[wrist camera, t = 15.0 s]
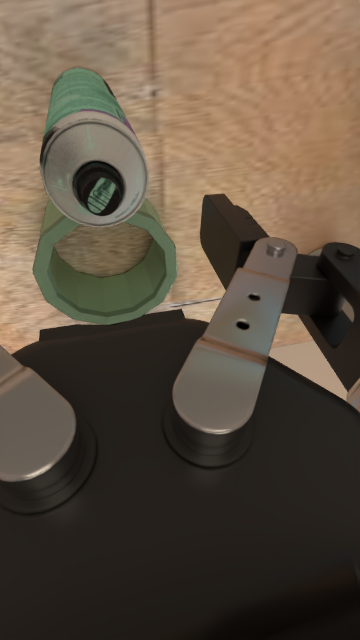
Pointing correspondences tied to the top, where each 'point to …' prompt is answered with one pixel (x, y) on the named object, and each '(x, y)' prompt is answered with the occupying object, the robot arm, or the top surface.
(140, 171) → the spray can
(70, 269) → the hollow green tube
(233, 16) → the top surface
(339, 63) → the top surface
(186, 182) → the top surface
